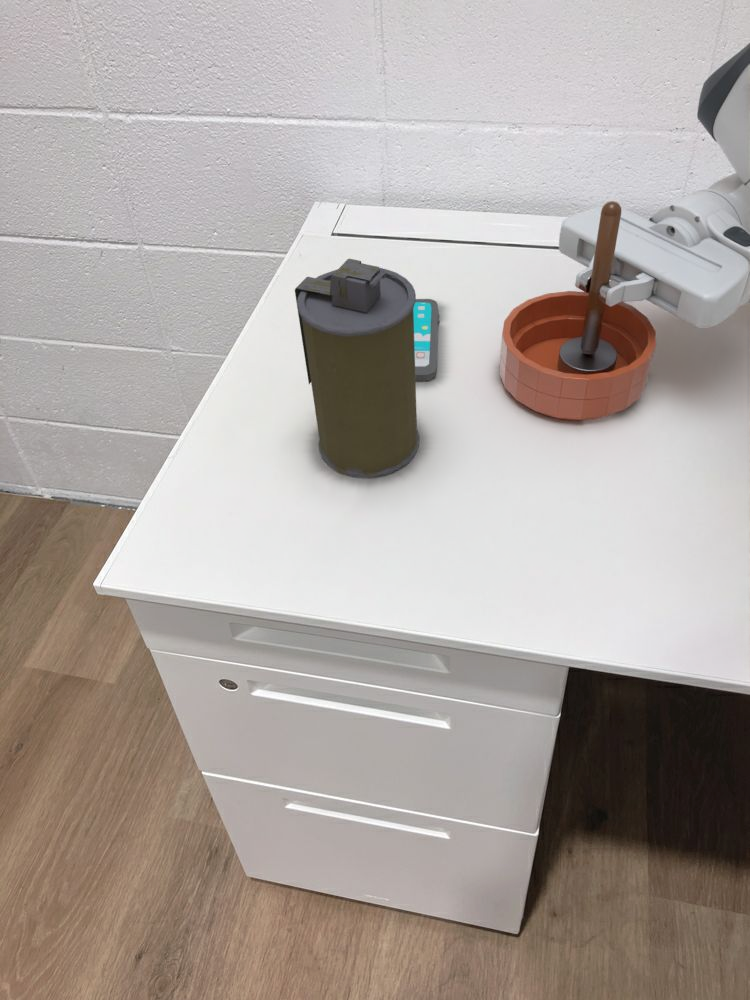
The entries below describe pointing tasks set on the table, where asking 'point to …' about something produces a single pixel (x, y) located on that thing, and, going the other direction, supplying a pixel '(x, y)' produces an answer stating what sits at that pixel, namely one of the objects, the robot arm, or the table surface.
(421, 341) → the smartphone
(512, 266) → the table surface
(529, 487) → the table surface
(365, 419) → the canister
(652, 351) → the bowl
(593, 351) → the peg on round base
